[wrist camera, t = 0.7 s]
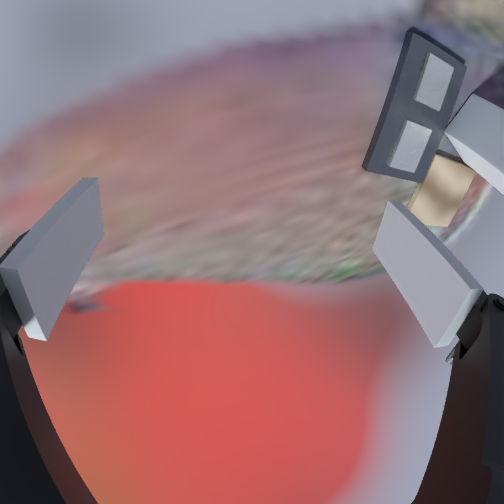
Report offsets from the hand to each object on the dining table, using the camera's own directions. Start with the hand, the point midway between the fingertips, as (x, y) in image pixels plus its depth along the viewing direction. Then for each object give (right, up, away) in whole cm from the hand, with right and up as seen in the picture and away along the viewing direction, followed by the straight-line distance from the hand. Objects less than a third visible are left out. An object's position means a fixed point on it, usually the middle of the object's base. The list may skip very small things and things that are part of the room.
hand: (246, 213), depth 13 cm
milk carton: (+28, +14, +16) cm, 35 cm away
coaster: (+26, +7, +22) cm, 34 cm away
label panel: (+18, +13, +14) cm, 26 cm away
